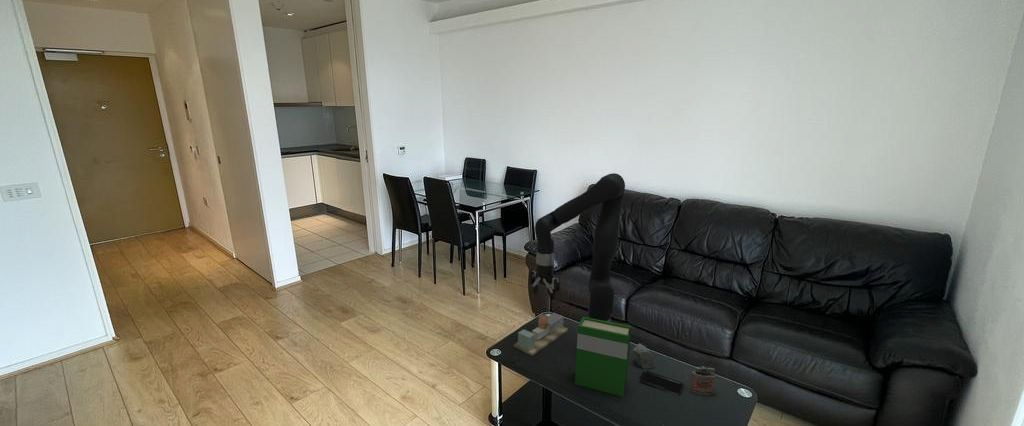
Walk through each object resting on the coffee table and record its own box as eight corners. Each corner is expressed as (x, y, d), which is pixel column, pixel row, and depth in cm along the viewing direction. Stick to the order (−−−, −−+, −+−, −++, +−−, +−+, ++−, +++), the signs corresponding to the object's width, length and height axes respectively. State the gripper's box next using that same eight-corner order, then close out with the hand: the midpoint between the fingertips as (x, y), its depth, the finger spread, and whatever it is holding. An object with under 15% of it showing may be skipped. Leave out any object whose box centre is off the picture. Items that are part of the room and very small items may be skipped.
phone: (644, 369, 165) (684, 383, 157) (643, 372, 165) (684, 386, 157) (638, 380, 158) (680, 395, 151) (637, 383, 159) (679, 397, 151)
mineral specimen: (638, 354, 175) (644, 339, 172) (654, 369, 169) (660, 353, 165) (626, 359, 171) (631, 344, 168) (642, 374, 165) (648, 358, 161)
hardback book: (626, 384, 157) (631, 326, 151) (623, 396, 151) (628, 336, 145) (579, 372, 164) (582, 316, 158) (574, 384, 157) (578, 325, 151)
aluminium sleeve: (553, 323, 199) (554, 312, 197) (563, 327, 195) (563, 316, 194) (541, 331, 191) (541, 320, 190) (550, 335, 188) (551, 324, 187)
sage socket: (523, 342, 182) (523, 329, 181) (534, 347, 178) (534, 334, 177) (517, 346, 180) (518, 332, 178) (529, 351, 176) (529, 337, 174)
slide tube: (553, 322, 197) (554, 306, 195) (561, 325, 195) (561, 308, 193) (531, 337, 185) (531, 319, 183) (538, 340, 182) (539, 322, 180)
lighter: (690, 393, 153) (694, 369, 150) (688, 387, 156) (691, 363, 154) (714, 396, 152) (718, 371, 149) (711, 390, 155) (715, 366, 152)
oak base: (550, 323, 201) (550, 321, 200) (568, 330, 194) (568, 328, 194) (513, 346, 181) (513, 344, 180) (532, 355, 174) (532, 353, 174)
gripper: (526, 260, 181) (525, 295, 185) (553, 268, 172) (552, 305, 176) (536, 255, 186) (535, 289, 190) (564, 263, 177) (562, 299, 181)
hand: (543, 297), depth 183 cm, fingers open, 8 cm apart
